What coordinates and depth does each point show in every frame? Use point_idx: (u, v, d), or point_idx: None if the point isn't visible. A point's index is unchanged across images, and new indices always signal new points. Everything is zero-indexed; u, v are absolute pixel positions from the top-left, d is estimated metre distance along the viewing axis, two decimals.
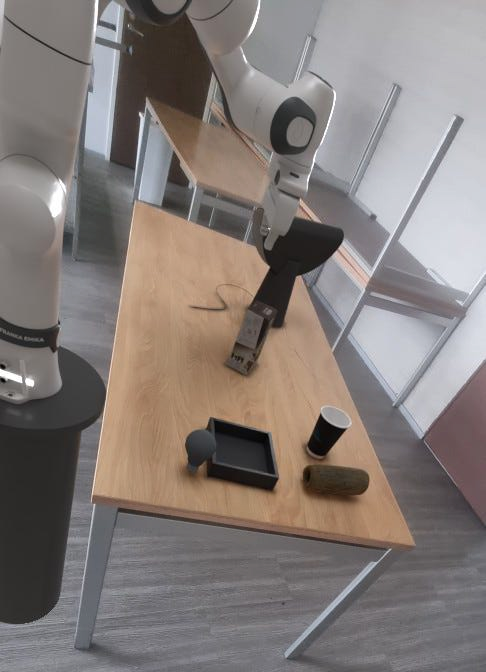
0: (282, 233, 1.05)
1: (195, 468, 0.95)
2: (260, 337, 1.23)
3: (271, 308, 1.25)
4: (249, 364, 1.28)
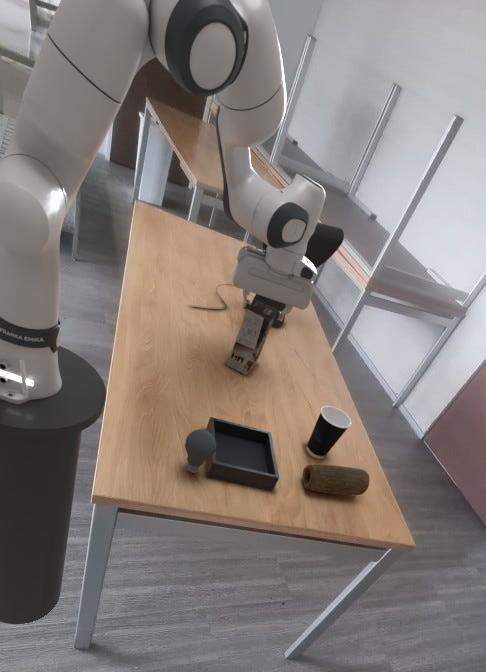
0: None
1: (195, 468, 0.95)
2: (260, 337, 1.23)
3: (271, 308, 1.25)
4: (249, 364, 1.28)
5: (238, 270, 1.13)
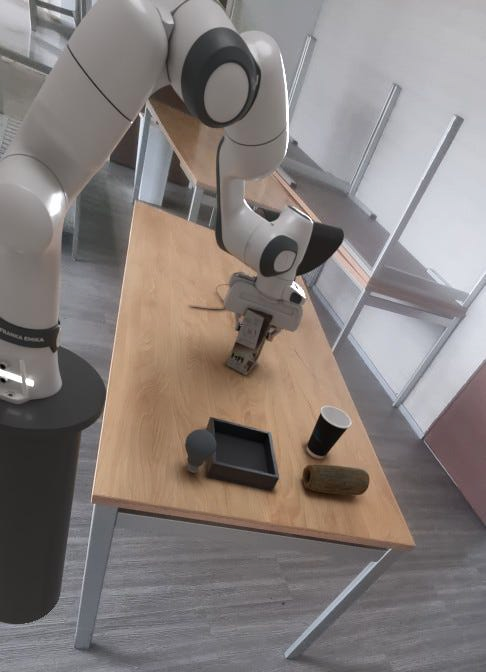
0: None
1: (195, 468, 0.95)
2: (260, 337, 1.23)
3: None
4: (249, 364, 1.28)
5: (230, 295, 1.17)
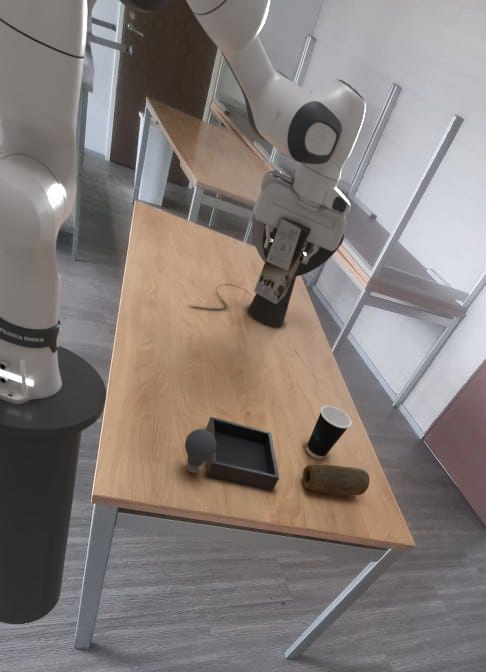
0: None
1: (195, 468, 0.95)
2: (295, 254, 1.05)
3: None
4: (280, 290, 1.10)
5: (262, 199, 0.99)
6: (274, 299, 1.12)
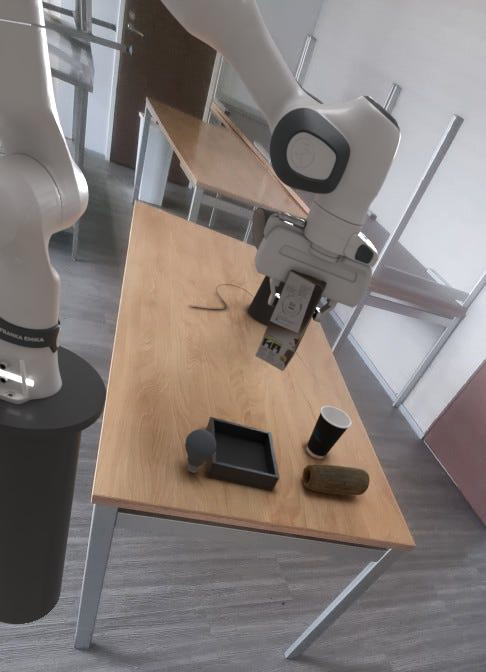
0: None
1: (195, 468, 0.95)
2: (308, 314, 0.83)
3: None
4: (288, 355, 0.88)
5: (265, 249, 0.78)
6: (280, 365, 0.90)
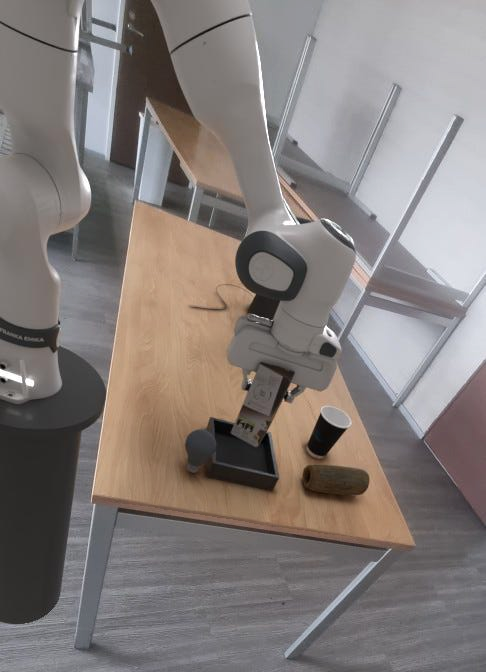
0: None
1: (195, 468, 0.95)
2: (277, 401, 0.89)
3: None
4: (261, 434, 0.94)
5: (235, 345, 0.83)
6: (254, 442, 0.96)
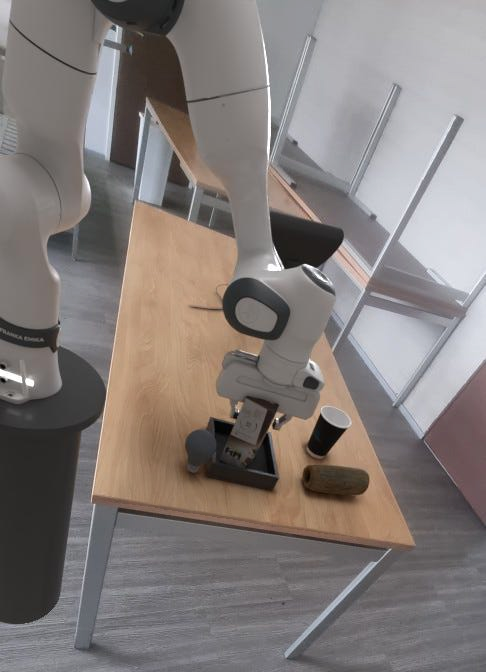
0: None
1: (195, 468, 0.95)
2: (262, 431, 0.94)
3: None
4: (248, 461, 0.99)
5: (223, 379, 0.88)
6: None
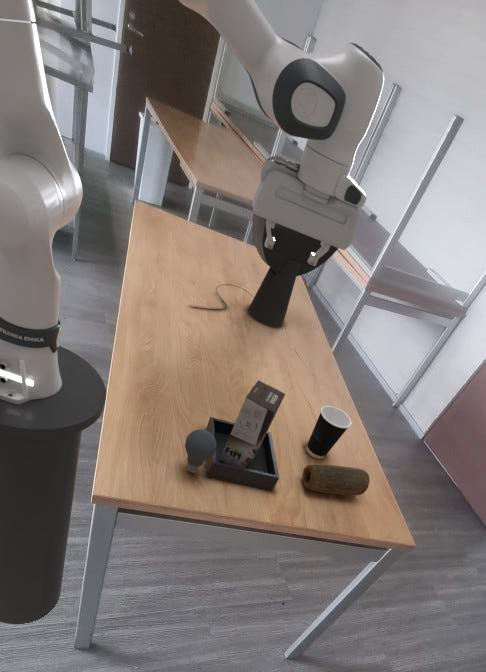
0: None
1: (195, 468, 0.95)
2: (262, 431, 0.94)
3: (276, 392, 0.96)
4: (248, 461, 0.99)
5: (262, 190, 0.85)
6: None
